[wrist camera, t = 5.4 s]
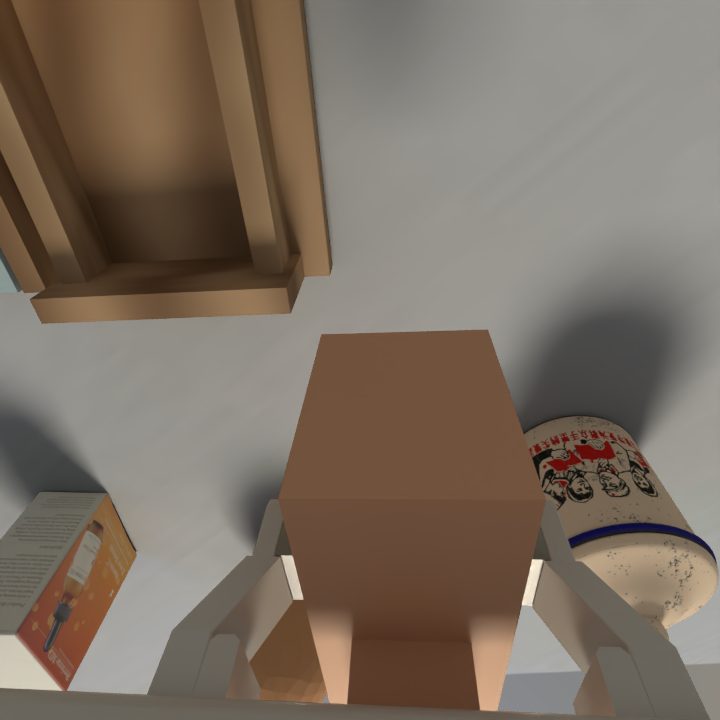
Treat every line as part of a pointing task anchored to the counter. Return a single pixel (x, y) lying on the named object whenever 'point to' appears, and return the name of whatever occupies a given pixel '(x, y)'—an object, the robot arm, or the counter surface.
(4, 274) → the plank
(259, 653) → the egg
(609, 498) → the teacup with lid
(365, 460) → the block
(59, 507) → the small box
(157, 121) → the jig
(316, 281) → the counter surface
